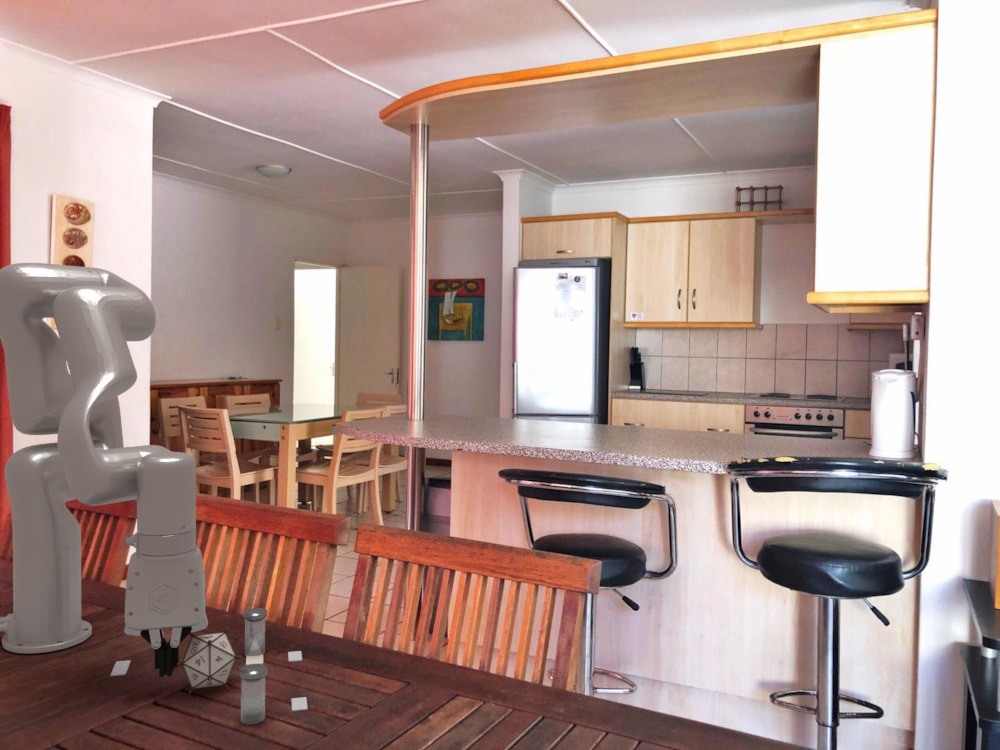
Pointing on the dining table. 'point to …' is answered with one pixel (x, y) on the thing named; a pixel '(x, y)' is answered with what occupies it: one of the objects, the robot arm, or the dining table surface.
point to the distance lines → (297, 703)
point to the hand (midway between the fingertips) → (166, 672)
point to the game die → (208, 660)
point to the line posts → (253, 668)
